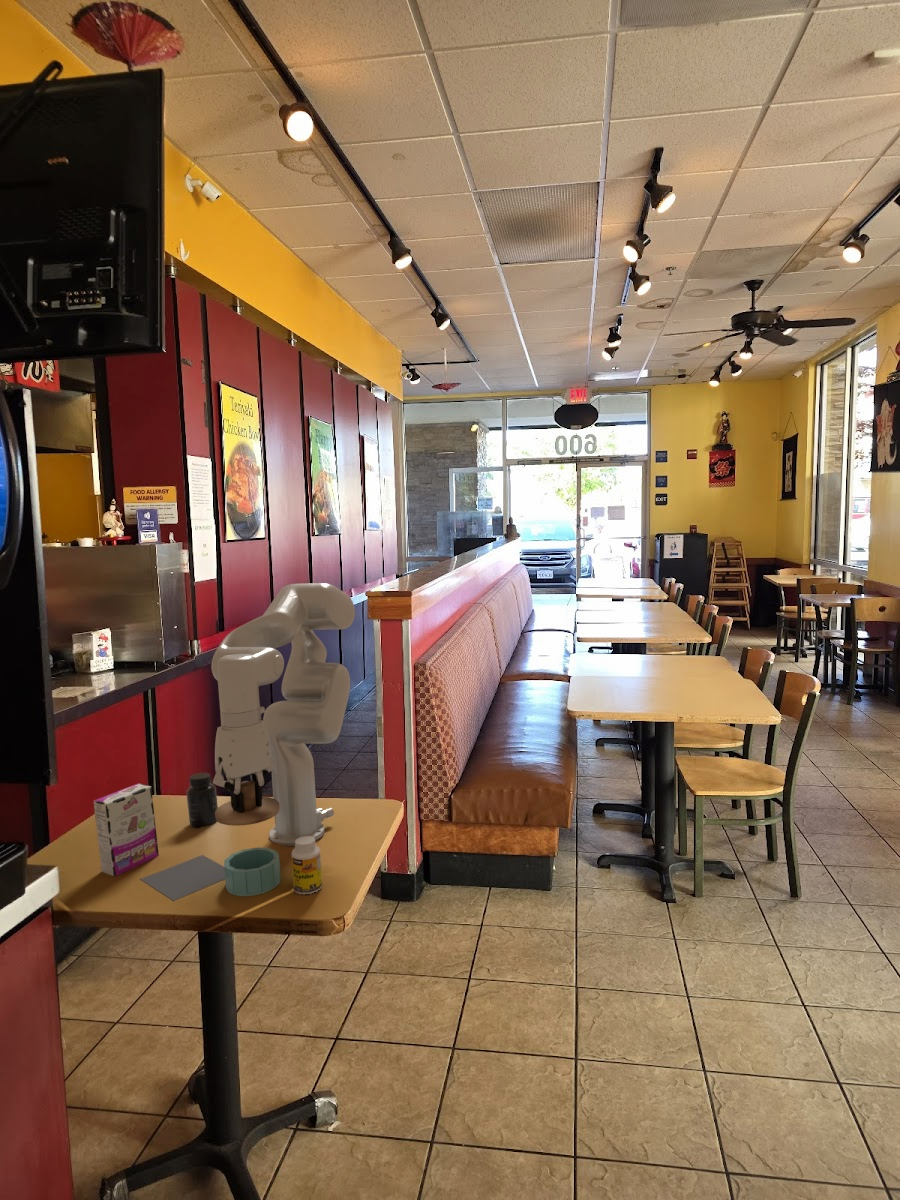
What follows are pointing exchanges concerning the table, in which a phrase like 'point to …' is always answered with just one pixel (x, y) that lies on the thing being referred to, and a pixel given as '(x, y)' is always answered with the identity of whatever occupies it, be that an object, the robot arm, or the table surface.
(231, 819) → the lid
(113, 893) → the table surface
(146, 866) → the table surface
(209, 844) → the table surface
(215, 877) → the mat
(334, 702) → the robot arm
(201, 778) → the supplement bottle
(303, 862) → the supplement bottle
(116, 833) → the candy bar box
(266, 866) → the bowl
